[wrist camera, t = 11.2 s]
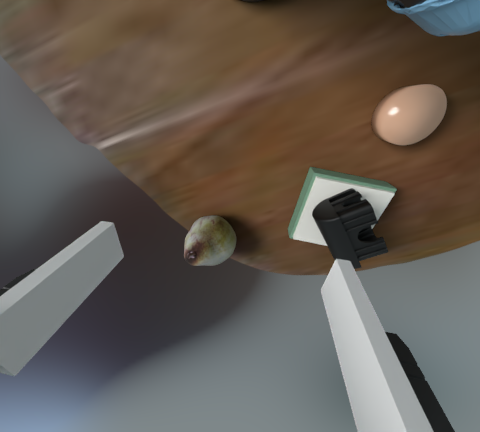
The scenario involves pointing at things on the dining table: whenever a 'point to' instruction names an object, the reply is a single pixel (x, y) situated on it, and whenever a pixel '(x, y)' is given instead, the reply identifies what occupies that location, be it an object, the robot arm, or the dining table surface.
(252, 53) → the dining table surface
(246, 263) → the dining table surface
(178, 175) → the dining table surface
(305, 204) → the stand
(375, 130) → the pinkish tan egg
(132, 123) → the dining table surface
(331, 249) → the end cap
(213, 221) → the fruit
